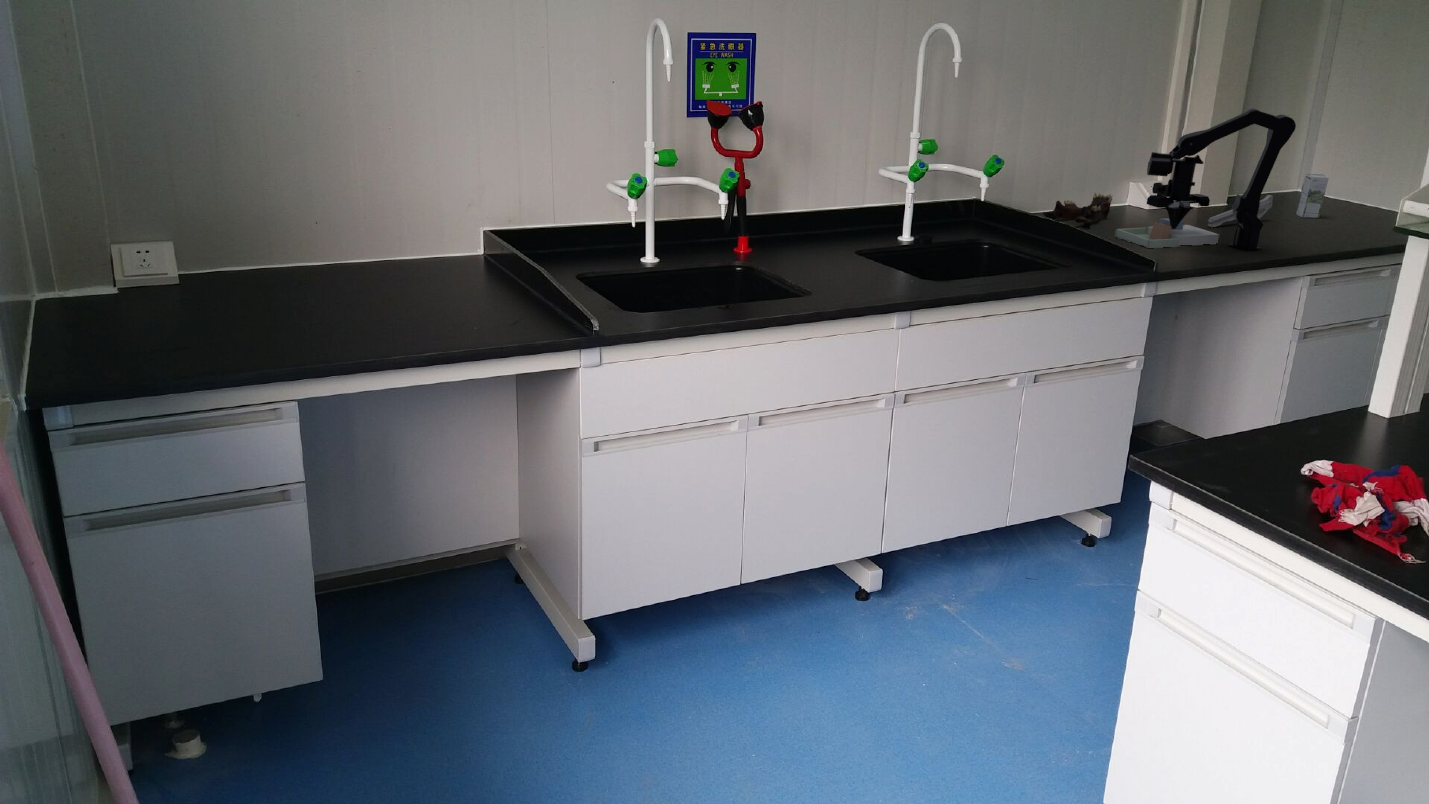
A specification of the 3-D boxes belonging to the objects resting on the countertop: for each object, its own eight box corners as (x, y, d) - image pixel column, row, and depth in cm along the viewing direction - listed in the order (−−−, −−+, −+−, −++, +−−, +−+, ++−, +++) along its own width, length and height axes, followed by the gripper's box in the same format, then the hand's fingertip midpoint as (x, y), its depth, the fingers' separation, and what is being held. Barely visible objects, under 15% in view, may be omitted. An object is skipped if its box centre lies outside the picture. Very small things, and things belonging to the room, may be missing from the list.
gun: (1271, 217, 368) (1273, 195, 365) (1210, 240, 356) (1212, 217, 353) (1266, 216, 370) (1268, 194, 366) (1205, 239, 358) (1207, 216, 355)
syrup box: (1312, 215, 379) (1322, 173, 374) (1319, 218, 374) (1329, 176, 368) (1295, 214, 380) (1304, 172, 374) (1302, 218, 374) (1311, 175, 369)
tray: (1177, 247, 328) (1179, 238, 327) (1147, 248, 325) (1149, 240, 324) (1143, 235, 342) (1145, 227, 341) (1114, 236, 339) (1115, 229, 338)
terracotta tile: (1171, 226, 329) (1164, 225, 328) (1166, 242, 330) (1159, 241, 330) (1161, 223, 333) (1154, 221, 333) (1155, 238, 335) (1149, 237, 334)
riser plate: (1217, 244, 333) (1219, 234, 332) (1176, 246, 329) (1178, 236, 328) (1186, 234, 345) (1187, 224, 344) (1146, 236, 341) (1148, 226, 340)
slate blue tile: (1182, 229, 338) (1184, 221, 337) (1169, 230, 336) (1170, 222, 335) (1171, 225, 342) (1173, 218, 341) (1158, 226, 341) (1159, 218, 340)
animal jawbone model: (1131, 232, 359) (1139, 204, 353) (1075, 243, 349) (1083, 214, 344) (1094, 212, 372) (1102, 184, 366) (1039, 222, 362) (1046, 194, 356)
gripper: (1190, 172, 336) (1180, 222, 342) (1139, 173, 331) (1130, 224, 337) (1215, 178, 326) (1205, 229, 332) (1163, 180, 321) (1153, 232, 327)
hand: (1173, 228), depth 332 cm, fingers closed
